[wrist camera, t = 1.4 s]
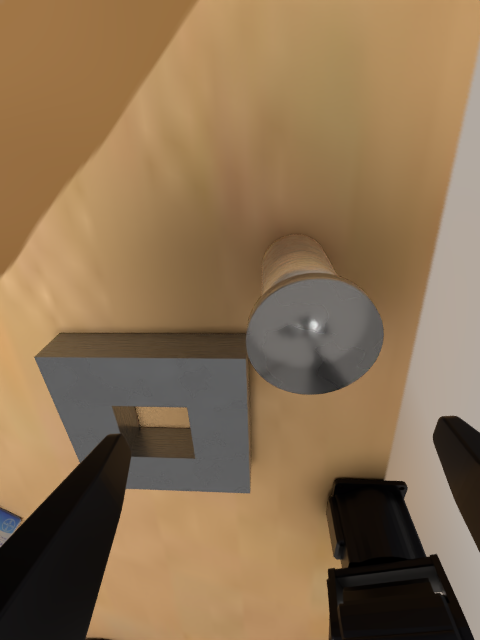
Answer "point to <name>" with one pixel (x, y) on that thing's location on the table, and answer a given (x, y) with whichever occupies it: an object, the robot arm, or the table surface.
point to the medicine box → (7, 525)
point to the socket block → (157, 403)
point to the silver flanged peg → (310, 321)
